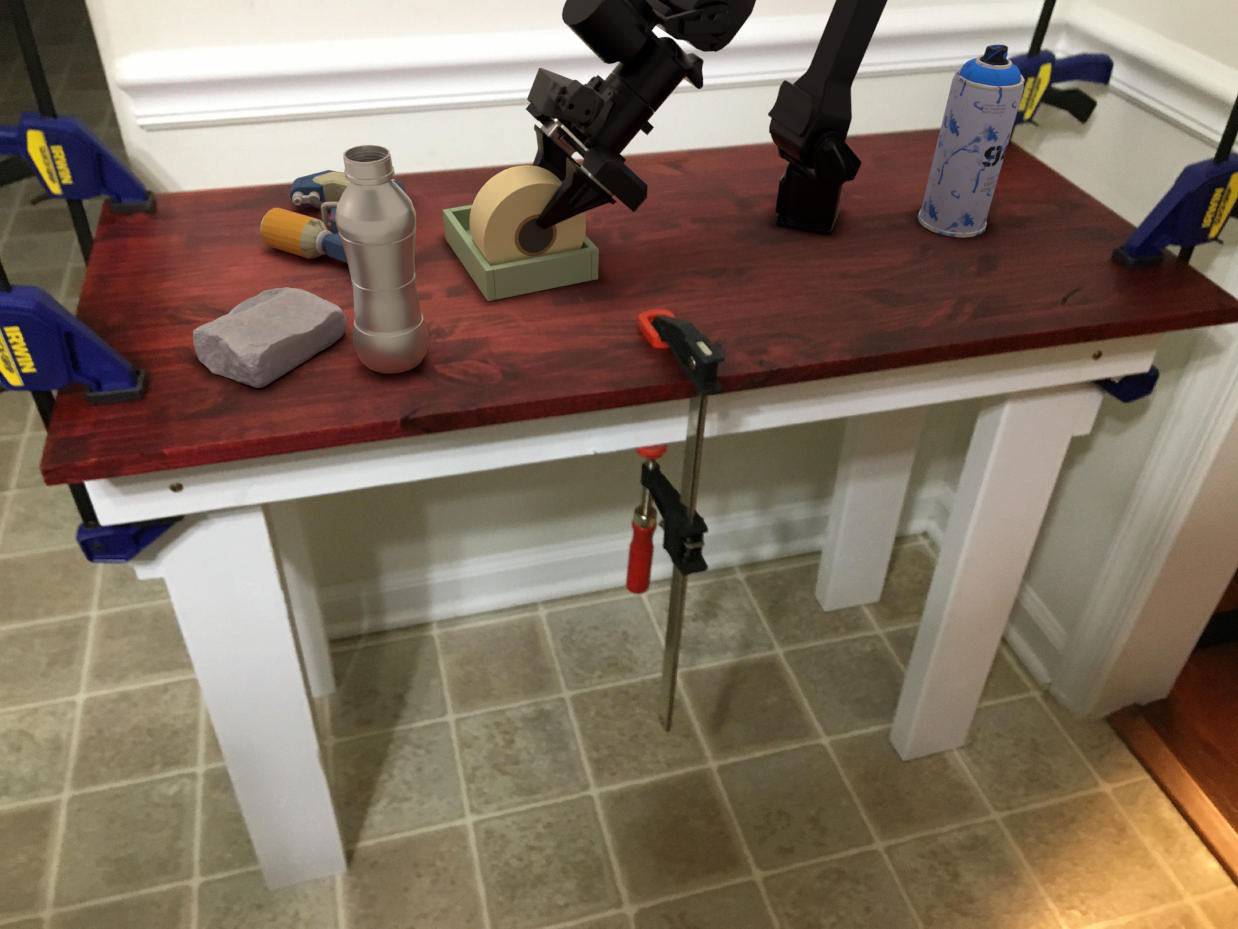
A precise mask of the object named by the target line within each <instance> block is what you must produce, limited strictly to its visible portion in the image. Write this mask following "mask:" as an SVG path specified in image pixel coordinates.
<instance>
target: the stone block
mask: <svg viewBox="0 0 1238 929" xmlns="http://www.w3.org/2000/svg"><path fill="white" fill-rule="evenodd" d="M347 318H348V317H347V316H346V314H345V312H344V311H343V310H342V309H341V307H339V306H338V305H337V304H335V303H332V302H330V301H329V300H326V299H324V298H322V297H320V296H318V295H316V294H314V293H311V292H310V291H307V290H304V289H303V288H296V287H295V288H292V287H288V286H284V287H280V288H278V287H274V288H271V289H265V290H263V291H261V292H260V293H258V294H257V295H254V296H252V297H249V298H247V299H245V300H244V301H242V302H240V303H238V304H237V305H236V306H234V307H233V308H232V309H231V310H230V311H229V313H227V314H224V315H222V316H219V317H218V318H216V319H213V321H209V322H207V323H204V324H202V325H200V326H197V328H194V329H193V330H192V338H193V342H192V343H193V346H194V351H195V353H196V356H197V358H198V361H199V362H200V363H201V364H203V365H204V366H205V367H206V368H207V369H208V370H209V371H210V373H212V374H213V375H216V376H217V375H218V376H222V377H224V378H227V379H231V380H233V381H236V382H237V383H239V384H244V385H247V386H250V387H252V388H255V389H262V388H265V387H266V386H268V385H270V384H271V383H273V382H274V381H276V380H277V379H279V378H281V377H283V376H284V375H286V374H288V373H289V372H290V371H292V370H294V369H296V368H297V367H298V366H300V365H301V364H303V363H305V362H307V361H308V360H310V359H312V358H313V357H314V356H316V354H319V353H320V352H322V351H324V350H326V349H327V348H329V347H331V346H332V345H334V344H335V343H336V342H337V341H339V340H340V339H341V338H342V337H343V336H344V334H346V329H347V322H348V319H347Z"/></svg>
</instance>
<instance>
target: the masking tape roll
mask: <svg viewBox="0 0 1238 929" xmlns="http://www.w3.org/2000/svg"><path fill="white" fill-rule="evenodd" d="M562 183H563V182H561V181H560V180H559V179H558V178H557V177H556V176H555V175H554V174H553V173H551V172H550V171H548V170H546V169H544V168H541V167H538V166H532V165H531V164H528V165H527V164H524V165H523V164H521V165H516V166H512V167H511V166H510V167H509V168H506V169H504V170H502V171H500V172H498V173H497V174H495V175H493V176H492V177H491V178H489V180H487V182H485V183H484V185H483V186H482V187H481V188H480V190H479V191H478V193H477V194H476V196H475V198H474V200H473V203H472V204H471V205H472V208H471V212H470V220H469V222H470V232H471V236H472V239H473V241H474V243H475V245H476V246H477V248H478V249H479V251H480V252H481V253H482V255H483V256H484V257H485V259H486V260H487V262H488V263H489V264H490V266H494V265H500V264H505V263H510V262H515V261H521V260H526V259H531V258H536V257H542V256H547V255H552V254H557V253H563V252H568V251H573V250H578V249H581V247H582V244H583V241H584V238H585V235H586V232H587V220H586V216H585V215H586V214H585V212H583V213H580V214H578V215H576V216H573V217H571V218H569V219H567V220H564V221H562V222H560V223H558V224H556V225H553V226H551V227H549V228H547V229H542V228H541V227H539V226H538V225H537V224H536V221H537V220H538V218H539V216H540V215H541V213H542V211H543V210H544V208H545V207H546V205H547V204H548V203H549V201H550V200H551V198H552V197H553V196H554V194H555V193H556V191H557V190H558V188H559V187H560V186H561V184H562Z"/></svg>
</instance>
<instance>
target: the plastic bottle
mask: <svg viewBox="0 0 1238 929" xmlns="http://www.w3.org/2000/svg"><path fill="white" fill-rule="evenodd" d="M342 160H343V164H344V170H343V171H344V172H343V173H345V178H346V179H347V180H348V181H349V182H350V183H349V184H348V186H347V188H346V189H345V191H344V192H343V194H342V196H341V198H340V200H339V203H338V205H337V209H336V215H335V220H336V224H337V229H338V231H339V235H340V238H341V241H342V245H343V248H344V251H345V254H346V257H347V262H348V264H347V265H348V266H347V268H348V271H349V276H350V281H351V285H352V294H353V313H354V315H353V316H354V319H353V326H352V340H353V341H352V344H353V347H354V349H355V352H356V355H357V358H358V359H359V361H360V362H361V363H362V364H363V365H364V366H365V367H367V368H368V369H369V370H371V371H373V372H377V373H379V374H389V375H390V374H400V373H404V372H407V371H410V370H412V369H415V368H416V367H418V366H419V365H420V364H421V363H422V361H423V359H424V358H425V357H426V355H427V354H428V350H429V349H428V348H429V338H430V336H429V331H428V327H427V324H426V319H425V317H424V315H423V313H422V307H421V303H420V298H419V292H418V287H417V282H416V280H417V279H416V262H415V261H416V260H415V259H416V258H415V251H416V234H417V211H416V209H415V207H414V206H415V205H414V204H413V202H412V199H411V197H409V196H408V194H407V193H405V192H406V191H405V192H404V191H403V190H402V189H401V188H400V187H399V186H398V185H397V184H396V183H395V182H394V181H393V180H392V179H394V177H395V175H396V174H395V167H394V165H393V159H392V153H391V151H390V150H389V149H388V148H387V147H385V146H382V145H376V144H363V145H355V146H353V147H349V148H348V149H346V150H345V151H344V152H343V155H342Z"/></svg>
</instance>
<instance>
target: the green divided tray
mask: <svg viewBox="0 0 1238 929" xmlns="http://www.w3.org/2000/svg"><path fill="white" fill-rule="evenodd" d="M472 205H473V204H468V205H462V206H456V207H450V208H445V209H442V218H443V219H442V220H443V231H444V239H445V240H446V242H447V244H448V245H449V246H450V248H451V249H452V251H453V252H454V254H455V255H456V257H457V259H458V260H459V262H460V263H461V264H462V266H463V267H464V269H465V270H466V272H467V273H468V275H469V276H470V277H471V279H472V280H473V282H474V283H475V285H476V286H477V288H478V289H479V291H480V292H481V294H482V295H483V297H484V298H485V299H486V301H487V302H492V301H496V300H501V299H506V298H512V297H517V296H522V295H526V294H531V293H536V292H540V291H546V290H551V289H555V288H561V287H566V286H570V285H576V284H580V283H585V282H591V281H596V280H598V279H599V256H600V254H599V248H598V247H597V246H596V245H595V243H594V242H593V241H592V240H591V239H590V238H589V237H588V235H587V234H585V238H584V241H583V244H582V247H581V249H578V250H573V251H568V252H563V253H557V254H552V255H547V256H542V257H536V258H531V259H526V260H521V261H515V262H510V263H505V264H500V265H494V266H490V264H489V263H488V262H487V260H486V259H485V257H484V256H483V255H482V253H481V252H480V251H479V249H478V248H477V246H476V245H475V243H474V241H473V239H472V236H471V232H470V222H469V220H470V212H471V208H472Z"/></svg>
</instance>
